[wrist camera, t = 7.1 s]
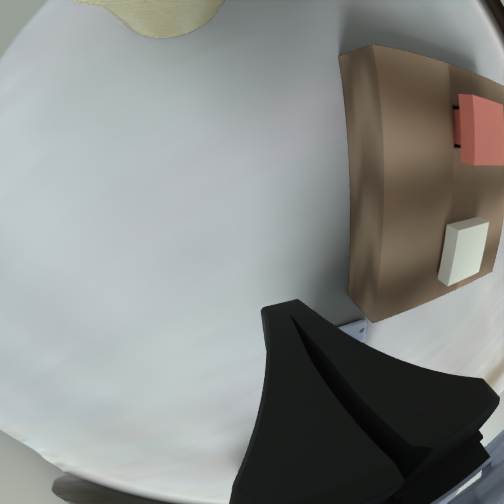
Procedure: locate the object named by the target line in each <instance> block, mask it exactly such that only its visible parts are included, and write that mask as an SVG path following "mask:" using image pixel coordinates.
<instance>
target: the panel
mask: <svg viewBox="0 0 504 504" xmlns="http://www.w3.org/2000/svg"><path fill="white" fill-rule="evenodd" d="M339 64H340V70H341V78H342V86H343V94H344V103H345V113H346V124H347V137H348V152H349V172H350V263H349V283H348V296H349V297H350V298H351V299H352V300H353V302H354V303H355V304H356V305H357V306H358V307H359V308H360V310H361V311H362V312H363V313H364V314H365V315H366V316H367V318H368V319H369V320H370V321H371V322H372V323H375V322H378V321H381V320H384V319H386V318H389V317H392V316H394V315H397V314H400V313H402V312H405V311H407V310H410V309H412V308H415V307H417V306H419V305H422V304H424V303H427V302H429V301H431V300H434V299H436V298H438V297H440V296H443V295H445V294H447V293H449V292H451V291H454V290H456V289H458V288H460V287H462V286H464V285H466V284H468V283H470V282H472V281H474V280H476V279H478V278H480V277H482V276H484V275H486V274H488V273H490V272H492V270H493V266H494V263H495V258H496V254H497V250H498V245H499V241H500V236H501V231H502V225H503V219H504V165H471V164H468V163H464V162H461V145H459V144H454V124H453V110H460V107H459V95H458V94H470V95H475V96H478V97H482V98H485V99H488V100H491V101H493V102H496V103H499V104H502V105H503V113H504V86H503V85H501V84H499V83H496V82H494V81H492V80H490V79H488V78H485V77H483V76H481V75H478V74H476V73H473V72H471V71H468V70H465V69H463V68H460V67H457V66H454V65H452V64H449V63H446V62H443V61H439V60H436V59H433V58H430V57H426V56H423V55H419V54H415V53H411V52H407V51H403V50H399V49H394V48H389V47H385V46H379V45H374V44H372V45H369V46H366V47H363V48H360V49H358V50H355V51H352V52H349V53H347V54H344V55H341V56H339ZM475 217H480V218H482V219H484V220H486V221H488V222H489V226H488V232H487V237H486V242H485V247H484V252H483V257H482V261H481V265H480V269H479V272H478V273H476V274H474V275H472V276H470V277H467V278H465V279H463V280H461V281H459V282H457V283H454V284H452V285H450V286H446V285H445V284H444V283H442V282H441V281H440V280H438V274H439V269H440V264H441V259H442V253H443V247H444V241H445V234H446V227H447V224H451V223H455V222H459V221H463V220H467V219H471V218H475Z"/></svg>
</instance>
